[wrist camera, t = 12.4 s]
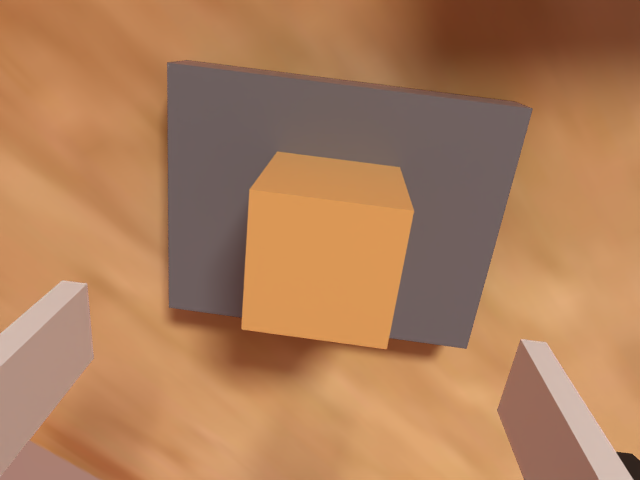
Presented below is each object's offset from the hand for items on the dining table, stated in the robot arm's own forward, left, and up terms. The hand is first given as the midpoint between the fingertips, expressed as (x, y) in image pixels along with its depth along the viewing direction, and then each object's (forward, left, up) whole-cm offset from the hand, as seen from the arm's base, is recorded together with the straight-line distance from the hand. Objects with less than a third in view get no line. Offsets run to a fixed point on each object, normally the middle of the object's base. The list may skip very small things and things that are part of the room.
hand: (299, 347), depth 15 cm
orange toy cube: (0, 0, -13) cm, 13 cm away
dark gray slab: (0, 0, -16) cm, 16 cm away
